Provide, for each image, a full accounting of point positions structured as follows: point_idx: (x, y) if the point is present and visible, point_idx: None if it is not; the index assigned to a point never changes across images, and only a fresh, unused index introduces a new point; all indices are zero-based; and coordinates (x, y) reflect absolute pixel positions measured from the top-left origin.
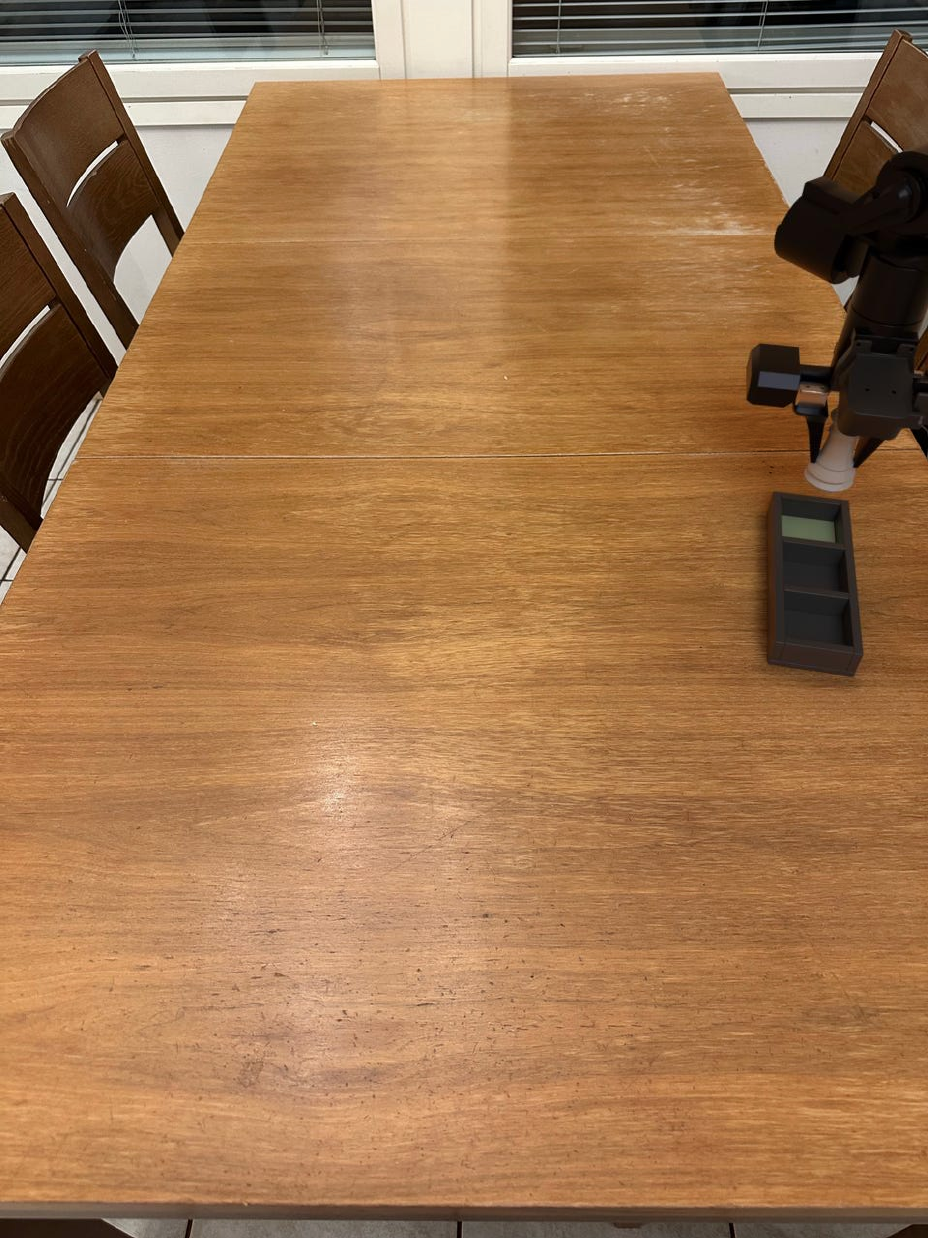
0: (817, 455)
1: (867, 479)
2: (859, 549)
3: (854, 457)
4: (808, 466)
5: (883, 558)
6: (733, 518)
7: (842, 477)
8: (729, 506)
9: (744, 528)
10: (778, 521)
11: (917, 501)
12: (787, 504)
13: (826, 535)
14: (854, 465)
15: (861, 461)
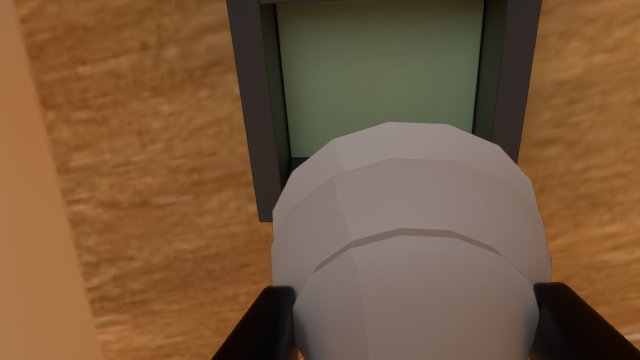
0: (565, 330)
1: (213, 322)
2: (205, 71)
3: (294, 353)
4: (551, 263)
5: (129, 48)
6: (599, 123)
7: (357, 199)
8: (601, 170)
9: (570, 86)
10: (513, 73)
11: (84, 277)
12: None
13: (313, 93)
14: (288, 298)
15: (251, 326)
